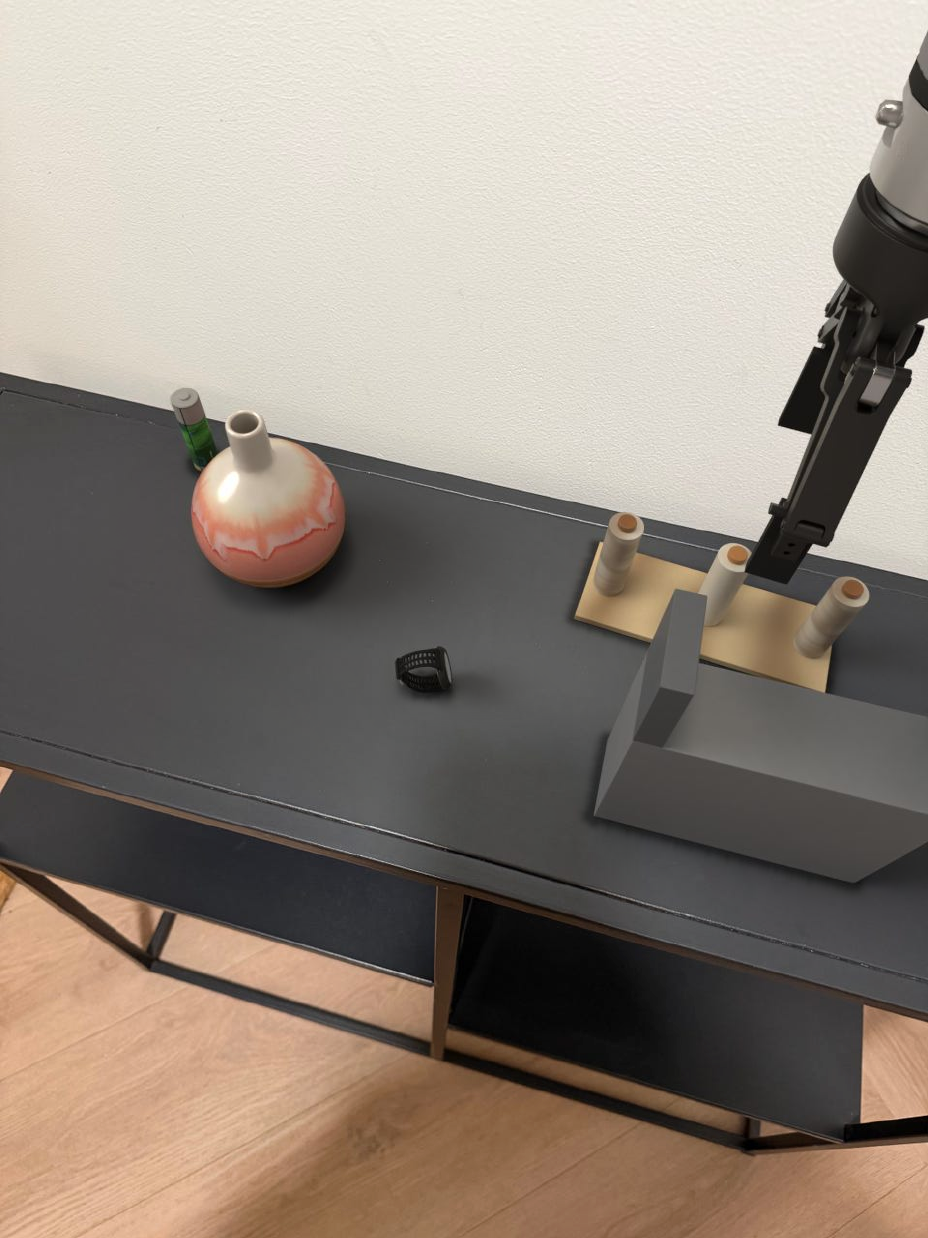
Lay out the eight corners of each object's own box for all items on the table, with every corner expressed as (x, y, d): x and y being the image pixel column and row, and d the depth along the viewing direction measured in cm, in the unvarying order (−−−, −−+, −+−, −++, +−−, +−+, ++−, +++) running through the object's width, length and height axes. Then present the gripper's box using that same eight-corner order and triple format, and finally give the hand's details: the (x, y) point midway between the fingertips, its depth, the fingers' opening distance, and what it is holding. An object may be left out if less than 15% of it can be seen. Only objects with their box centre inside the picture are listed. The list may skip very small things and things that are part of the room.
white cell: (729, 614, 78) (763, 554, 70) (708, 632, 77) (741, 574, 69) (704, 593, 79) (735, 532, 71) (683, 611, 78) (713, 551, 70)
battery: (216, 449, 88) (192, 381, 79) (224, 467, 86) (201, 399, 78) (191, 458, 87) (164, 390, 79) (199, 476, 86) (173, 409, 78)
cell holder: (833, 616, 79) (884, 552, 70) (821, 697, 75) (873, 639, 66) (598, 546, 82) (618, 476, 74) (574, 619, 78) (591, 555, 69)
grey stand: (855, 801, 70) (1030, 668, 49) (854, 884, 66) (1041, 778, 46) (607, 739, 72) (675, 587, 51) (593, 816, 68) (659, 686, 48)
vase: (189, 600, 78) (129, 475, 63) (232, 487, 85) (188, 351, 70) (332, 622, 77) (306, 501, 62) (364, 506, 84) (348, 373, 69)
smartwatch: (447, 708, 73) (447, 683, 69) (391, 693, 74) (388, 667, 69) (460, 668, 75) (461, 641, 71) (405, 654, 76) (403, 626, 71)
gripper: (886, 53, 45) (758, 362, 63) (829, 348, 33) (689, 627, 51) (1032, 81, 44) (858, 388, 62) (1030, 399, 31) (814, 666, 49)
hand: (782, 496), depth 56 cm, fingers open, 13 cm apart
